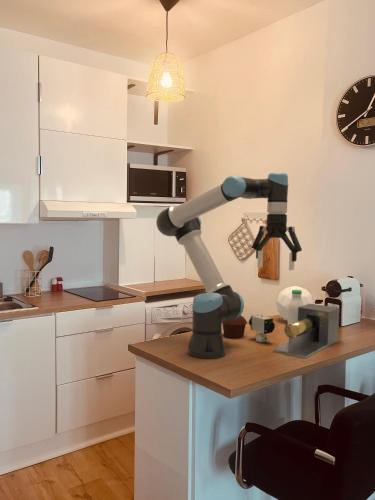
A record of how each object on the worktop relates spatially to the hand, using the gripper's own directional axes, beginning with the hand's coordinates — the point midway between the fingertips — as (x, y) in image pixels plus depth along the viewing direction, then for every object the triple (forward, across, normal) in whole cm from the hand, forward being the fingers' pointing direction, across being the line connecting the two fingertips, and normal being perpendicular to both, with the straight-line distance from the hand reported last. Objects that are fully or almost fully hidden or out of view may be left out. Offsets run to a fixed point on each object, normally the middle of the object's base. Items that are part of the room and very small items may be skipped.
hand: (275, 268), depth 171 cm
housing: (+35, -4, -23) cm, 42 cm away
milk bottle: (+35, +11, -43) cm, 56 cm away
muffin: (+35, +28, -15) cm, 47 cm away
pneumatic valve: (+35, +14, -16) cm, 41 cm away
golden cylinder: (+28, -4, -15) cm, 32 cm away
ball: (+35, +20, -61) cm, 73 cm away
